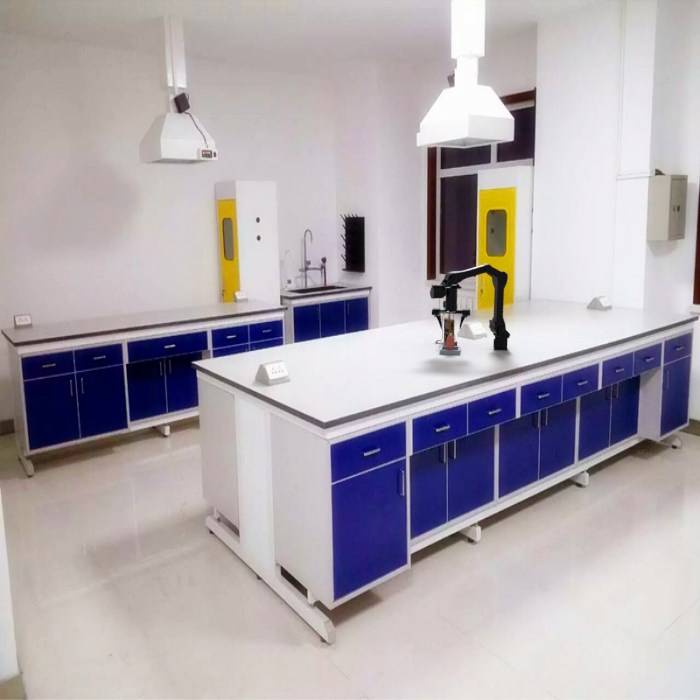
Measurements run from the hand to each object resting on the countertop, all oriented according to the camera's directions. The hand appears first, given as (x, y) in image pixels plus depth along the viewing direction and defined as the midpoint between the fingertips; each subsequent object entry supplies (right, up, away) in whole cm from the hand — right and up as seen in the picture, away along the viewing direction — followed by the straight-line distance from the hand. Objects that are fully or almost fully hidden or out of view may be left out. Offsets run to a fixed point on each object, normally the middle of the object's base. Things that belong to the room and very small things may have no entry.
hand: (450, 328), depth 315 cm
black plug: (+2, -10, +11) cm, 15 cm away
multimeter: (-1, -7, +23) cm, 24 cm away
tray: (0, -12, +3) cm, 12 cm away
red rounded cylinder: (0, -11, +3) cm, 11 cm away
